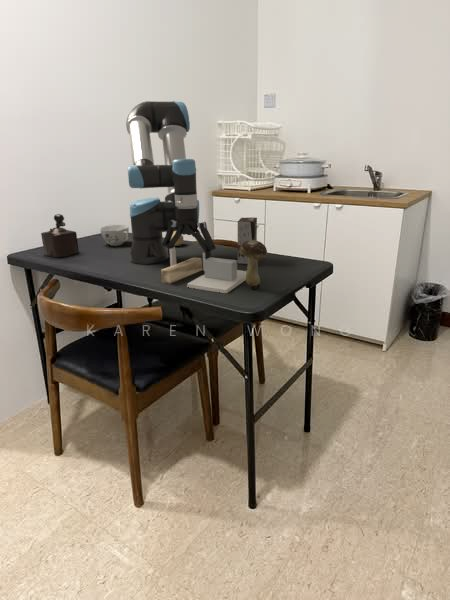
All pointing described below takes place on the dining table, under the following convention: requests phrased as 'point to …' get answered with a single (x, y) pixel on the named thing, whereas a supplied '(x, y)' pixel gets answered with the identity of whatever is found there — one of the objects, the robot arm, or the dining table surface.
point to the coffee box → (246, 235)
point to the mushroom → (253, 260)
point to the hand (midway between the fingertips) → (189, 267)
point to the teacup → (115, 234)
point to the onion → (178, 239)
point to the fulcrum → (219, 276)
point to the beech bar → (181, 270)
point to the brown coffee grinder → (59, 240)
